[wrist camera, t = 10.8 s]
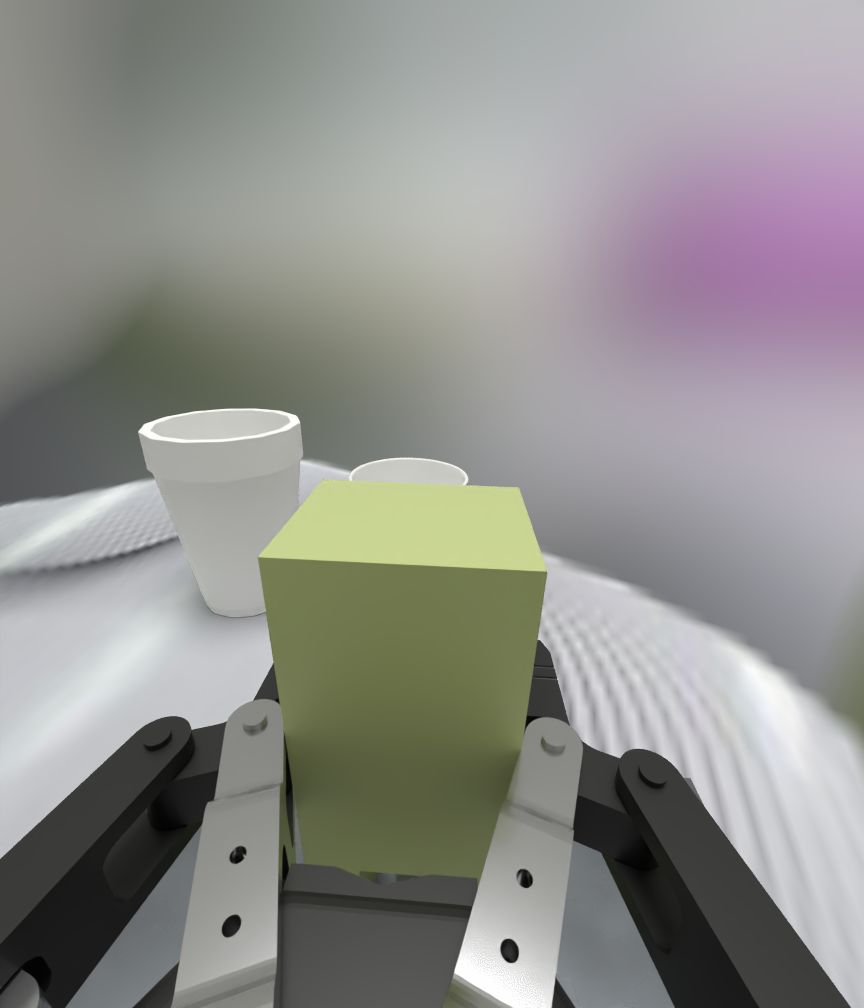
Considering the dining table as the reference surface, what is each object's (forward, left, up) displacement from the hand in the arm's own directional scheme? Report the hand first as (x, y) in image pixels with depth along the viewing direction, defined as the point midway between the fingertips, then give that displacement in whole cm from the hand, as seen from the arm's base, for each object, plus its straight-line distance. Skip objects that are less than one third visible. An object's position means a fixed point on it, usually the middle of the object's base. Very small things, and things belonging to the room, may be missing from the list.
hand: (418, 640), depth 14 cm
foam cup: (-14, +16, -11) cm, 24 cm away
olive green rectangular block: (0, -3, -7) cm, 8 cm away
